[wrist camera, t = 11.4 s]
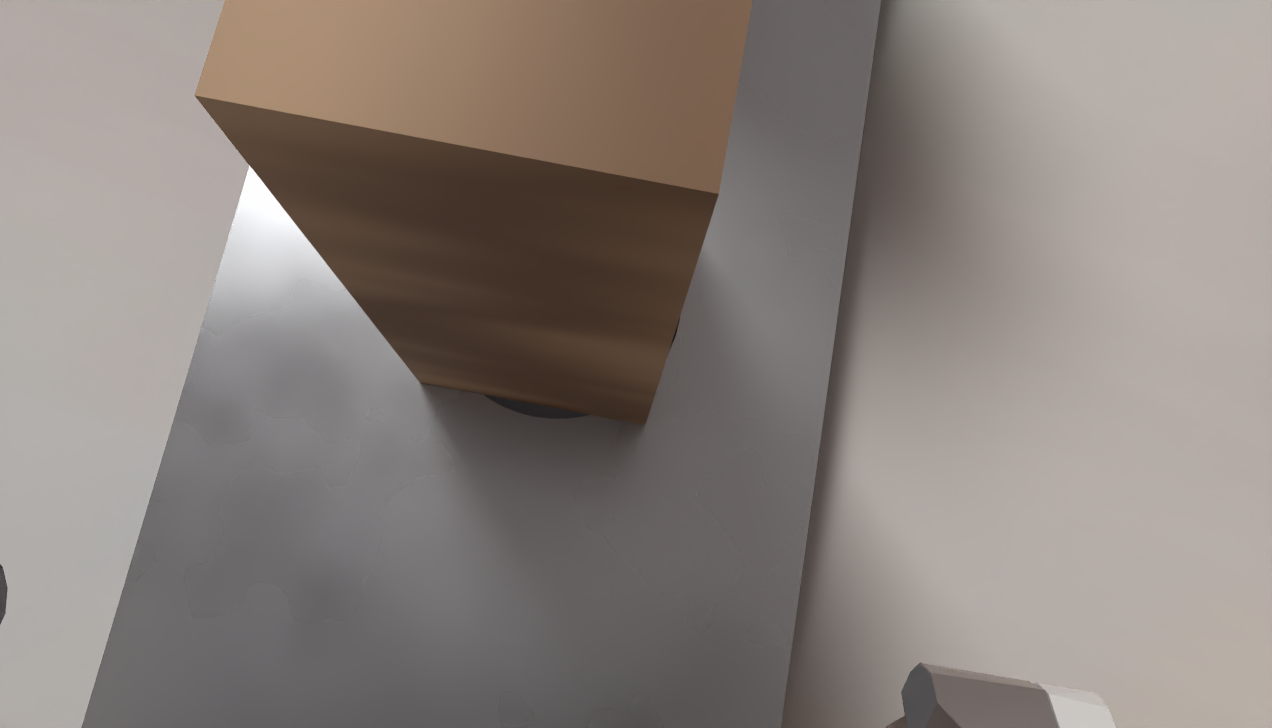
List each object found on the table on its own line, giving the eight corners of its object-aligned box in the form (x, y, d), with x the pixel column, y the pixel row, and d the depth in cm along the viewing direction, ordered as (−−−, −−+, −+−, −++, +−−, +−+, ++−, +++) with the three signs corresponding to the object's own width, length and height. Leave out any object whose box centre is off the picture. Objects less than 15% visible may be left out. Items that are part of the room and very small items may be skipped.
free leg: (419, 382, 17) (194, 95, 7) (469, 173, 18) (330, -324, 8) (645, 424, 17) (718, 193, 7) (683, 213, 18) (794, -238, 8)
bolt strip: (8, 1087, 15) (-39, 1128, 14) (420, -323, 22) (411, -375, 21) (698, 1215, 15) (706, 1266, 14) (901, -231, 22) (919, -277, 21)
